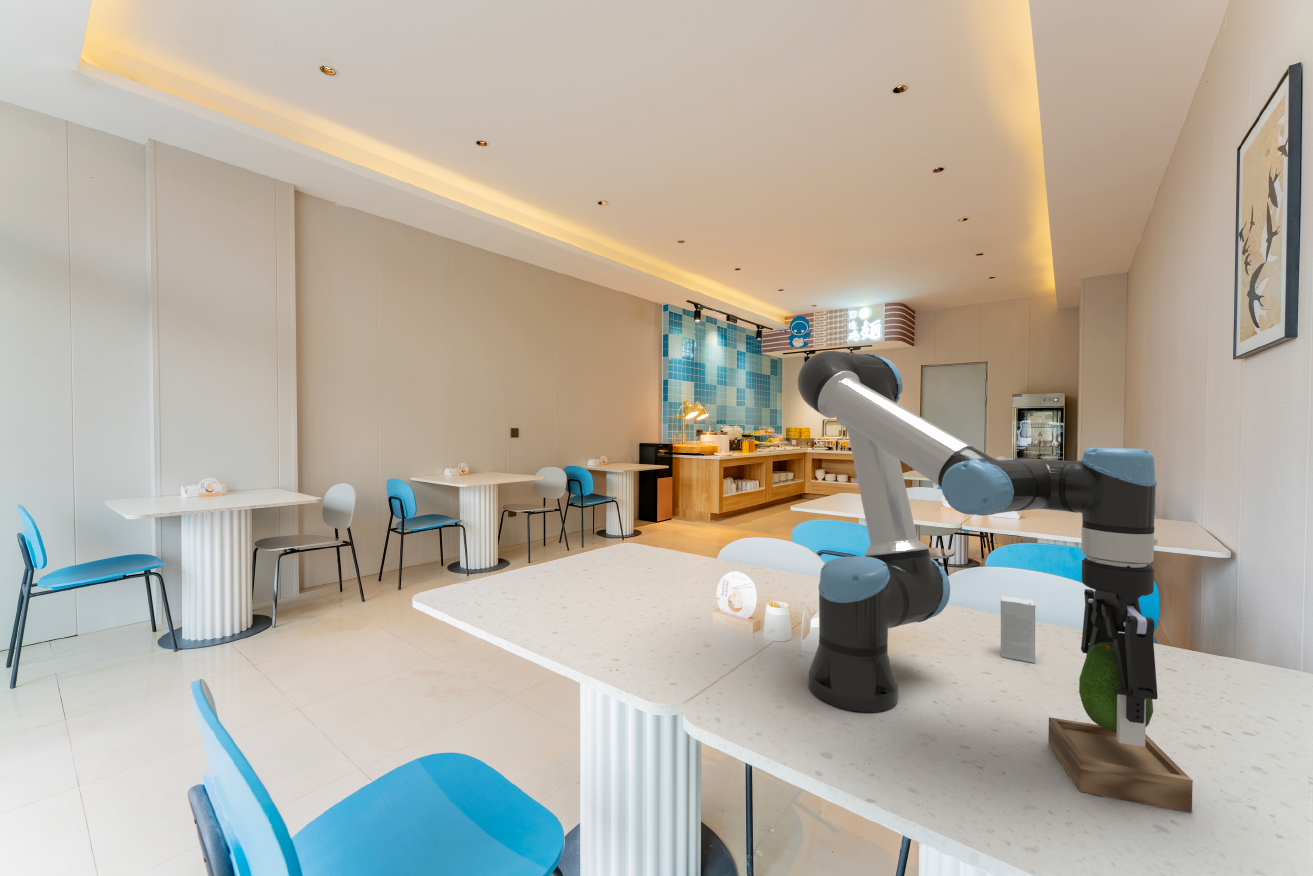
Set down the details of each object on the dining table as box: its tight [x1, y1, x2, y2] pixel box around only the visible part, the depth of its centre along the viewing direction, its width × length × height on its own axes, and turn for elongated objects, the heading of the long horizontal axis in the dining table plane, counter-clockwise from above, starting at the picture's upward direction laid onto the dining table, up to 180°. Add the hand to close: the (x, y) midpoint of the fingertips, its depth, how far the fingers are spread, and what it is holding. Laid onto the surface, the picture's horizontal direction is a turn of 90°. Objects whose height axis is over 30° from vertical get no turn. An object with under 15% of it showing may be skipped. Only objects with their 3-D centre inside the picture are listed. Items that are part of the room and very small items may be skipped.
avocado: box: [1078, 642, 1154, 733], centre depth 74 cm, size 8×8×12 cm
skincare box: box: [1000, 595, 1036, 664], centre depth 113 cm, size 6×4×12 cm
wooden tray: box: [1047, 716, 1194, 813], centre depth 74 cm, size 12×12×4 cm
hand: (1114, 726), depth 74 cm, fingers closed on avocado, 8 cm apart
